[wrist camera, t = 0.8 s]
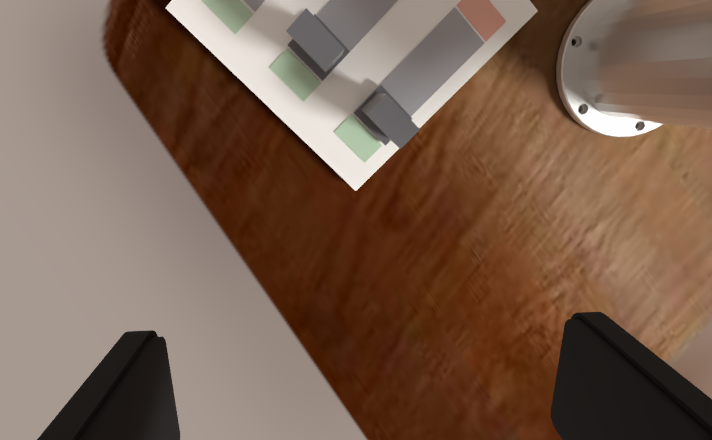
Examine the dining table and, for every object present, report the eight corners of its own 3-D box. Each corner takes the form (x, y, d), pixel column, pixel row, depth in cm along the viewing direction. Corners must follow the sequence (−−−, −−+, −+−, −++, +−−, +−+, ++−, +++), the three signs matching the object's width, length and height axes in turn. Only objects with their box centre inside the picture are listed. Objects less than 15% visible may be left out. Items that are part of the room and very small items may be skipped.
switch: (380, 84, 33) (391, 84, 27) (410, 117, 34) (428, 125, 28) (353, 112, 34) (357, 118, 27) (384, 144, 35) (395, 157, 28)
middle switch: (315, 15, 32) (310, -3, 25) (349, 52, 33) (353, 43, 26) (288, 46, 32) (276, 35, 26) (322, 81, 33) (319, 80, 27)
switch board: (354, -208, 30) (355, -230, 28) (526, 15, 35) (538, 10, 33) (175, 12, 33) (164, 7, 31) (354, 185, 38) (355, 191, 36)
